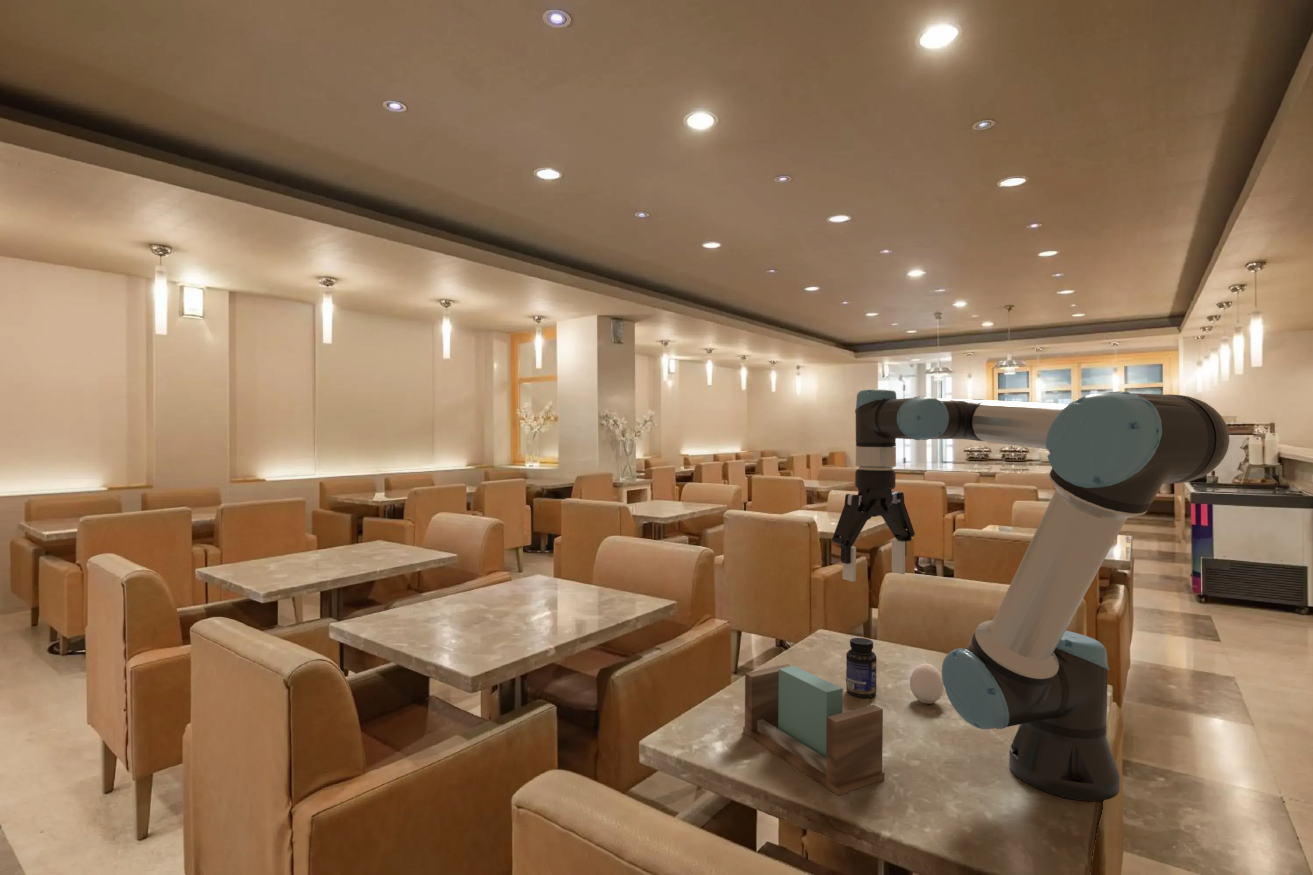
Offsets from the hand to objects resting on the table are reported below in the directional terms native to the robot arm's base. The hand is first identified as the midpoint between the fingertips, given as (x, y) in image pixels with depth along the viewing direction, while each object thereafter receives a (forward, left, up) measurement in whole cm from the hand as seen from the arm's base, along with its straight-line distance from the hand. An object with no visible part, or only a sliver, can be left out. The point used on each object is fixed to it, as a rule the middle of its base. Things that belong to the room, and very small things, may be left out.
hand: (874, 576), depth 131 cm
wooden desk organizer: (-7, +23, -27) cm, 36 cm away
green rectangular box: (-7, +23, -26) cm, 35 cm away
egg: (-2, -13, -27) cm, 30 cm away
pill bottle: (+8, -5, -27) cm, 29 cm away
